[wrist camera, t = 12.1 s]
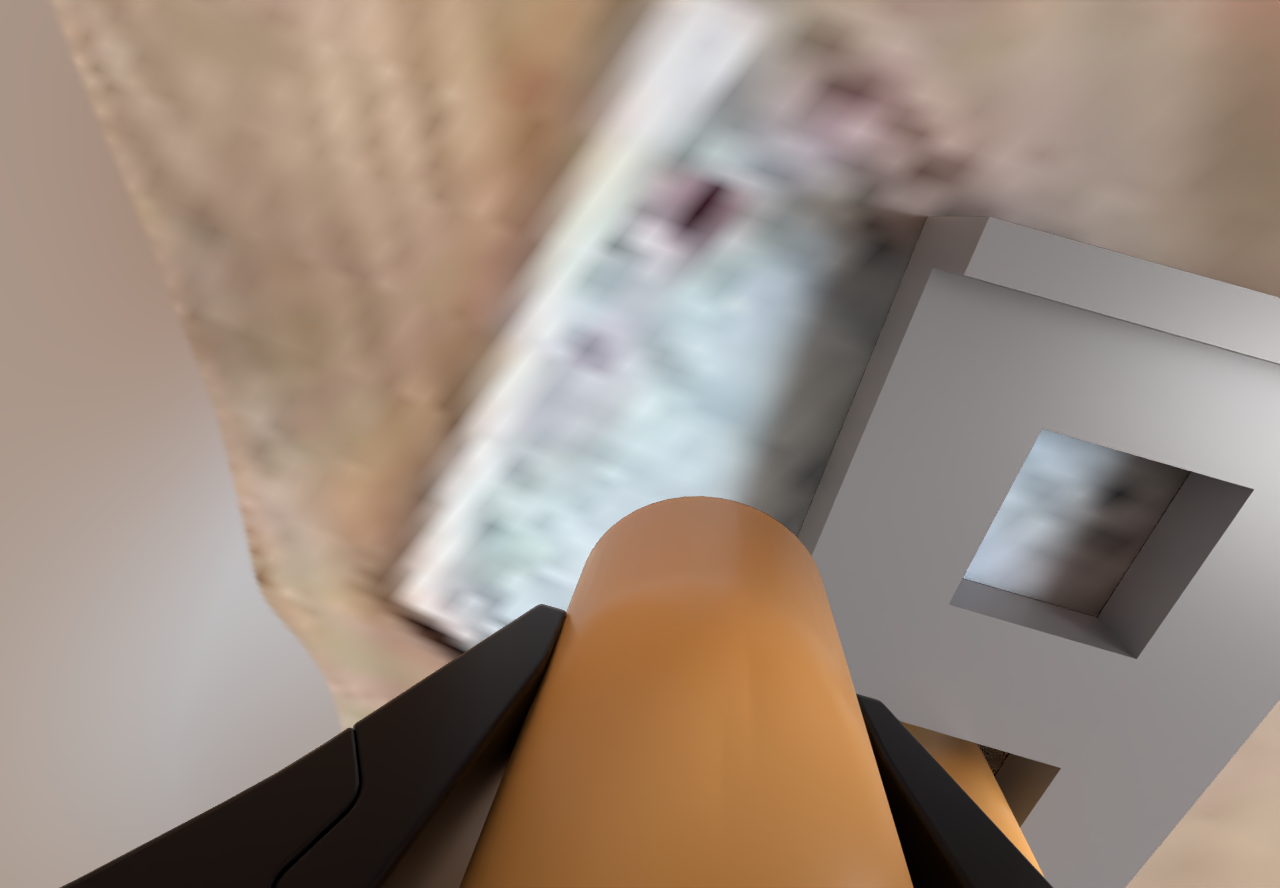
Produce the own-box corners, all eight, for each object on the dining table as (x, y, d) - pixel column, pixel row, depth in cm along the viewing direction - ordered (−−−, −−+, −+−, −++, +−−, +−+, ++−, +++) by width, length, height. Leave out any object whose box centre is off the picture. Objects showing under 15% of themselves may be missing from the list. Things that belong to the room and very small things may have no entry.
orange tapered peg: (948, 808, 23) (1022, 996, 18) (844, 777, 23) (885, 955, 18) (997, 728, 22) (1096, 906, 16) (886, 696, 22) (946, 861, 16)
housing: (1015, 932, 25) (1069, 1058, 21) (677, 831, 25) (671, 939, 21) (1446, 361, 16) (1664, 405, 13) (927, 216, 16) (989, 216, 13)
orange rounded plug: (779, 735, 11) (847, 1290, 5) (557, 670, 11) (386, 1147, 5) (865, 537, 9) (1085, 1001, 4) (609, 466, 10) (453, 813, 4)
